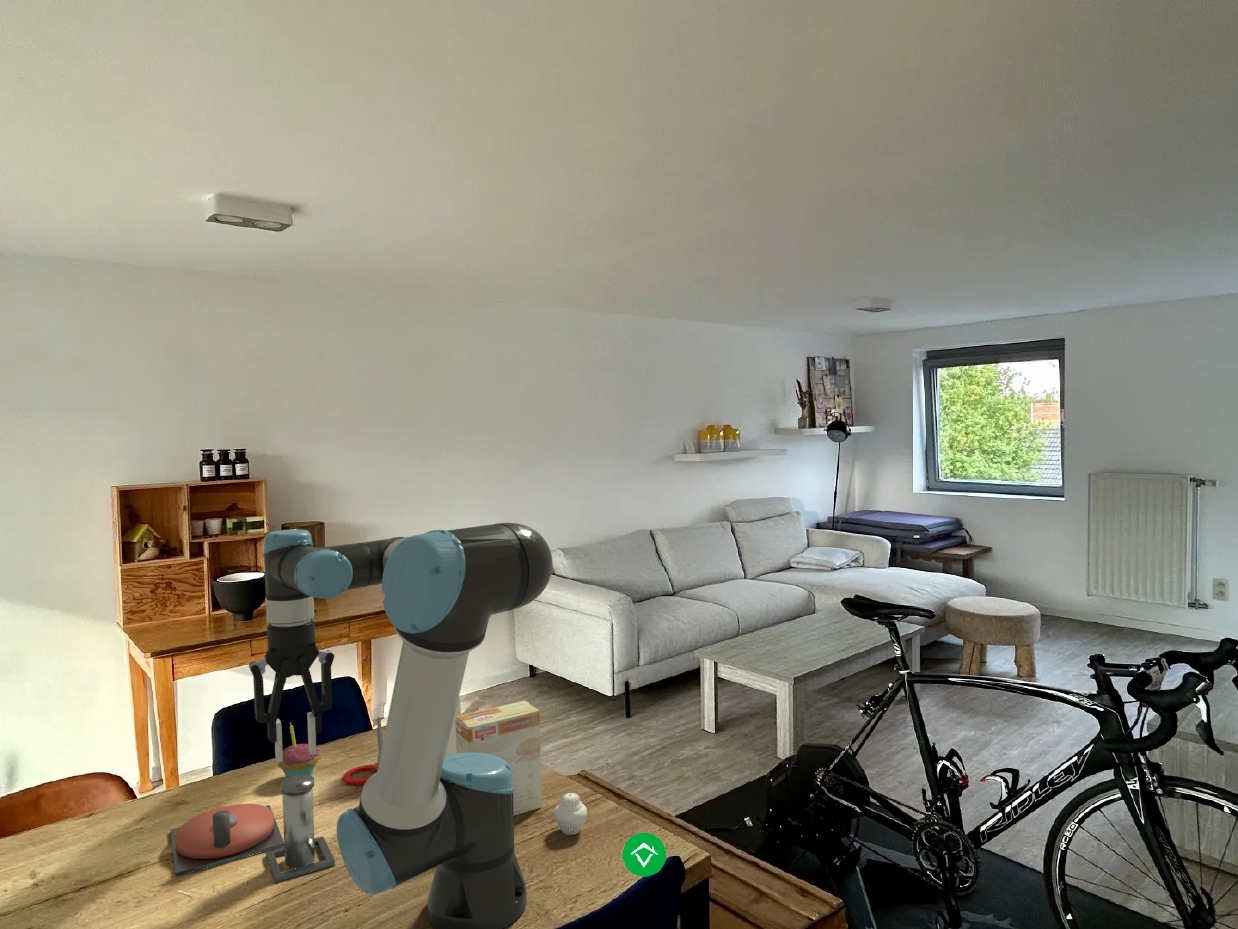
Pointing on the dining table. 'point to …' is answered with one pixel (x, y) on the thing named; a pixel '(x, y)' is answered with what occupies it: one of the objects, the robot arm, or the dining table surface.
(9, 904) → the dining table surface
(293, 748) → the cupcake
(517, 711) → the coffeecake box
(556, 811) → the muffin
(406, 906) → the dining table surface
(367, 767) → the tow hook
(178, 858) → the wheel base
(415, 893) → the dining table surface
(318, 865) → the grey flat square frame
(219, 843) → the red disc with handle
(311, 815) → the metal peg
